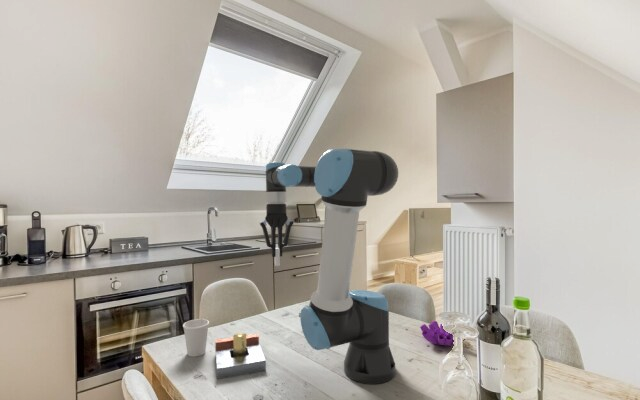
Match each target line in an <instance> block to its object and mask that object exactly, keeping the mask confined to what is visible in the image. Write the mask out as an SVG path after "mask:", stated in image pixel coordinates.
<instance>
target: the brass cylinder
mask: <svg viewBox="0 0 640 400" xmlns="http://www.w3.org/2000/svg"><path fill="white" fill-rule="evenodd" d="M246 335H247V333H244V332H238V333H235V334H233V336H232V337H233V358H235V357H241V356H246Z"/></svg>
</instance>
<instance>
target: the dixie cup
mask: <svg viewBox="0 0 640 400" xmlns="http://www.w3.org/2000/svg"><path fill="white" fill-rule="evenodd" d="M209 324H210V321H209V320H208V319H205V318H196V319H195V318H194V319H191V320H188V321H186V322H184V323H183V324H182V327H183V331H184V340H185V345H186V352H187V353H186V354H187V356H189V357H199V356H203V355H204V354H205V353H206V349H207V341H208V332H209V331H208V330H209Z"/></svg>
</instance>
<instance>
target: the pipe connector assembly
mask: <svg viewBox="0 0 640 400" xmlns="http://www.w3.org/2000/svg"><path fill="white" fill-rule="evenodd" d="M442 324H443V323H440V324H439V323H438V321H436V320H433V321H431V322H430V323H429V324H428V325H426V323H424V324H422V325H421V326H420V327H419V328H420V330H421V335H422V337H423V338H424V339H425V341H427V342H429V343H431V344H434V345H440V346H454V345H453V342H454V340H453V337H454V336H453V335H452V334H450V333H448V332H446V331H445V330H444V329H443V326H442ZM465 340H466V339H464V340H463V342H464V341H465Z"/></svg>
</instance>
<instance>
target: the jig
mask: <svg viewBox="0 0 640 400" xmlns="http://www.w3.org/2000/svg"><path fill="white" fill-rule="evenodd" d="M214 342H215V343H214V344H215V346H214V348H215V366H216V367H215V369H216V379H217V380H221V379H225V378H232V377H238V376H242V375H248V374H253V373H259V372H264V371H267V366H266V365H267V363H266V362H267V361H266V358H265V355H264V353H263V350H262V347H261V344H260V337H259V334H258V333H253V334H246V356H241V357H235V358H233V336H232V337H227V338H226V337H225V338H219V339H215V341H214Z"/></svg>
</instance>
